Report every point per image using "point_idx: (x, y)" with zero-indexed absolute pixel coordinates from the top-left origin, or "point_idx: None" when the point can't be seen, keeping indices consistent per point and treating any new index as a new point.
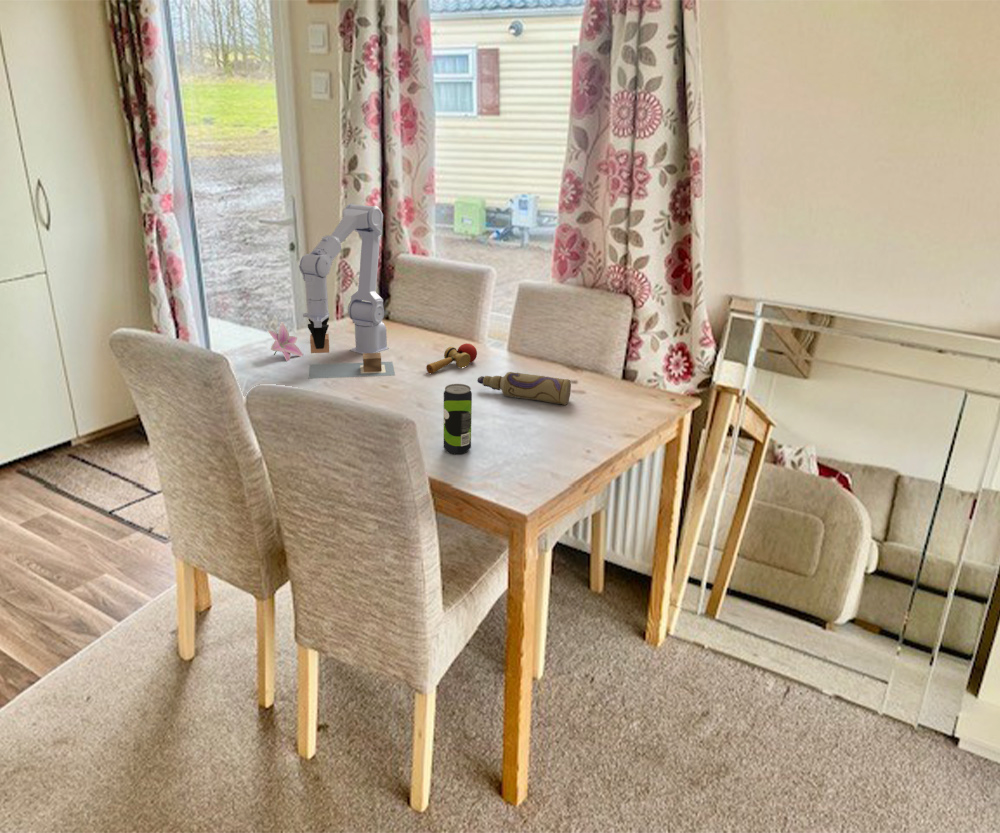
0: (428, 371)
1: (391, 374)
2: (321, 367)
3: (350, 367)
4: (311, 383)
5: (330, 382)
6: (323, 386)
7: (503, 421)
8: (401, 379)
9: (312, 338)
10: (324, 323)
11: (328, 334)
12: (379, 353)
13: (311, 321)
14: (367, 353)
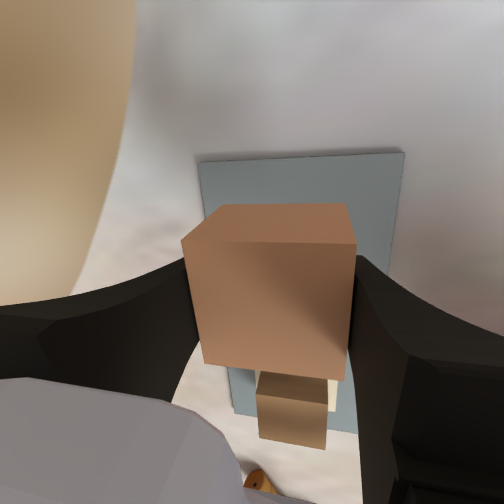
0: (260, 473)
1: (240, 407)
2: None
3: None
4: (162, 177)
5: (178, 245)
6: (138, 222)
7: None
8: (214, 415)
9: (212, 260)
10: (364, 463)
11: (323, 378)
12: (315, 446)
13: (396, 372)
14: (322, 416)
